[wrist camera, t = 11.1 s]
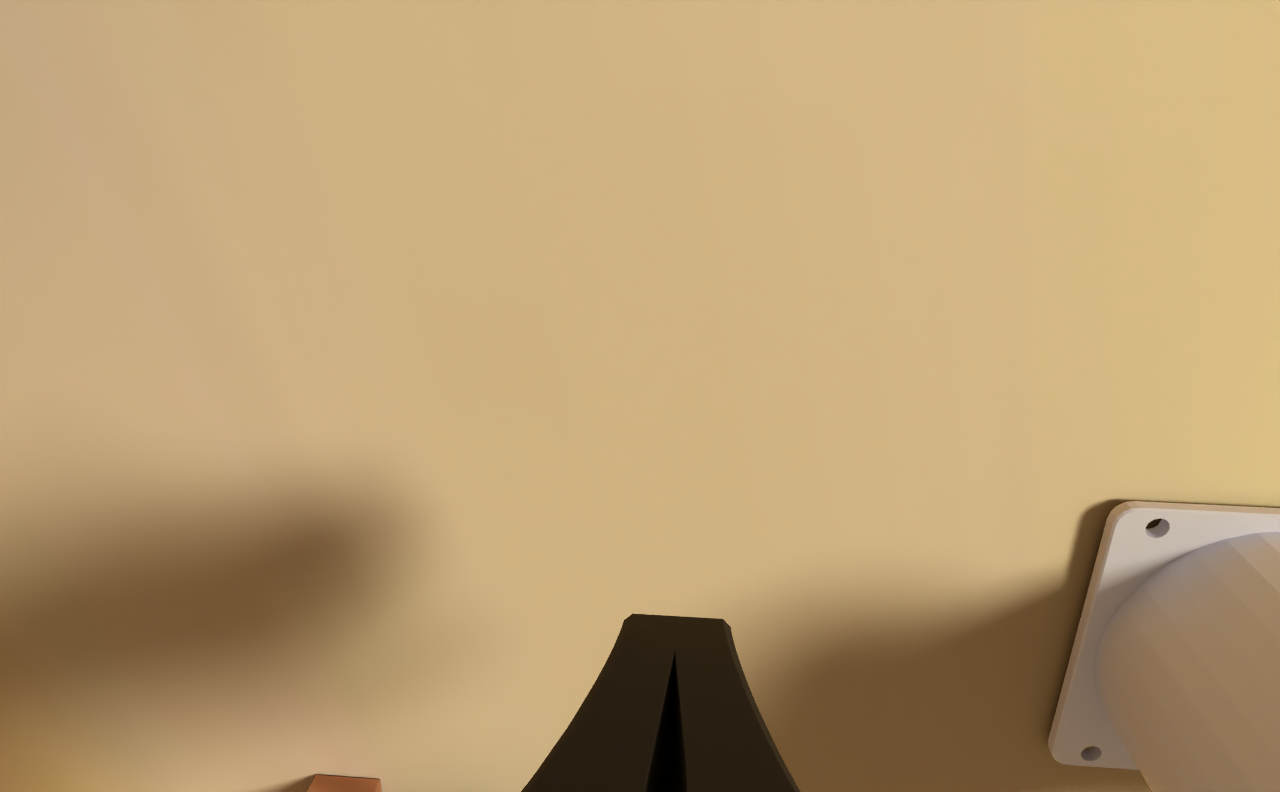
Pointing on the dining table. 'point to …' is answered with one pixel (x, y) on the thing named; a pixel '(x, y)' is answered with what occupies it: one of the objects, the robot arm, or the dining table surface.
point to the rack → (343, 784)
